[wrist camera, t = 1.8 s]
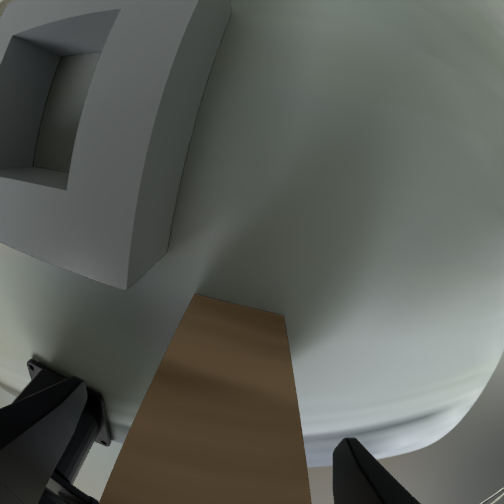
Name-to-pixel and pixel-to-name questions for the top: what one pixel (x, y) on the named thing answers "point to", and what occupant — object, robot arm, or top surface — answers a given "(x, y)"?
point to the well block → (103, 128)
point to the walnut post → (217, 417)
